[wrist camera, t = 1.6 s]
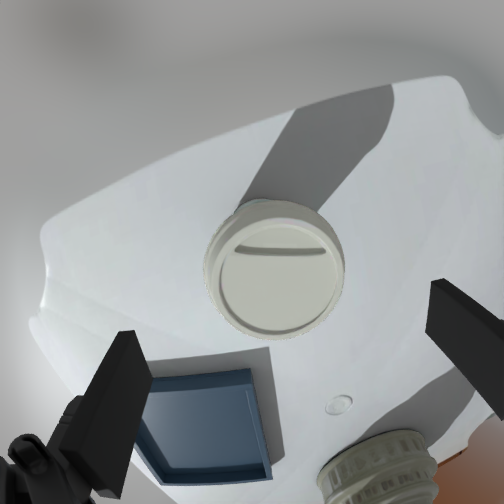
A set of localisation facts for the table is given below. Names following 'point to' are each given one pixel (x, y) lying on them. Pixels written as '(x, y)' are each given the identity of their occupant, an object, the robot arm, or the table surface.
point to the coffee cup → (274, 269)
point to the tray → (204, 430)
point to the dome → (381, 472)
